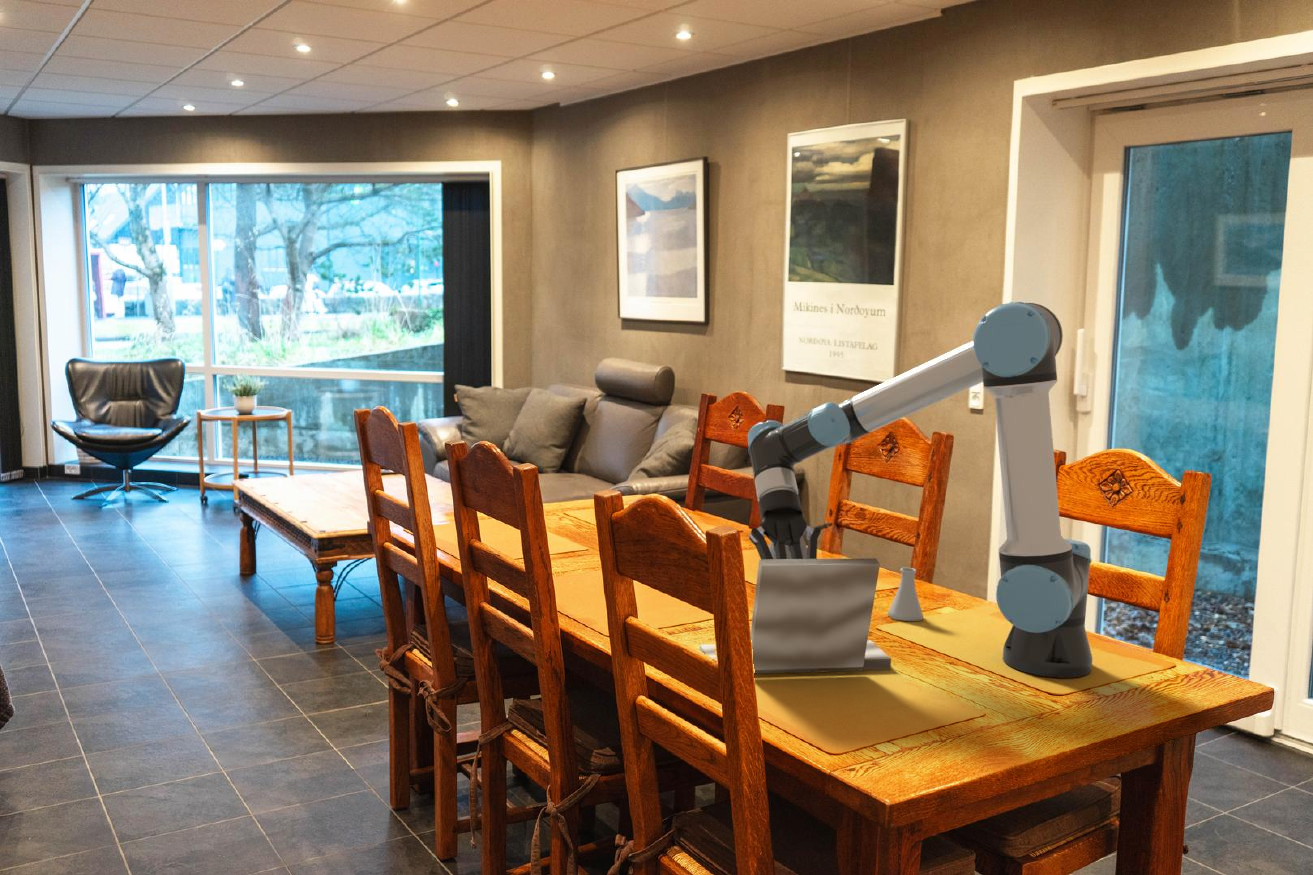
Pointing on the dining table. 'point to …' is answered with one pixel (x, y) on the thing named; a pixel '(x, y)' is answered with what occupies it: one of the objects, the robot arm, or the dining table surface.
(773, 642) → the panel
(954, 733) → the dining table surface
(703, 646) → the board
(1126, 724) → the dining table surface
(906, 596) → the flask
